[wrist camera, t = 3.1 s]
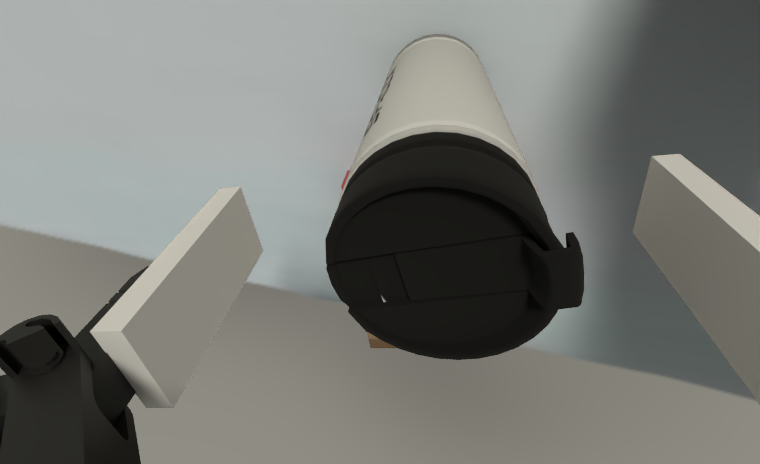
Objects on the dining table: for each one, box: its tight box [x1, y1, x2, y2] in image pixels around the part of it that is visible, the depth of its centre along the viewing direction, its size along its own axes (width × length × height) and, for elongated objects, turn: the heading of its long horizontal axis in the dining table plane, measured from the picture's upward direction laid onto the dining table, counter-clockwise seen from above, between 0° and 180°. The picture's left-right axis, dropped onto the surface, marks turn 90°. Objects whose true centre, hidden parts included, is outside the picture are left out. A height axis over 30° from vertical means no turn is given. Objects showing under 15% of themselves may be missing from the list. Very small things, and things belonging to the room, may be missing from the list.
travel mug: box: [326, 34, 584, 360], centre depth 18 cm, size 6×7×20 cm
